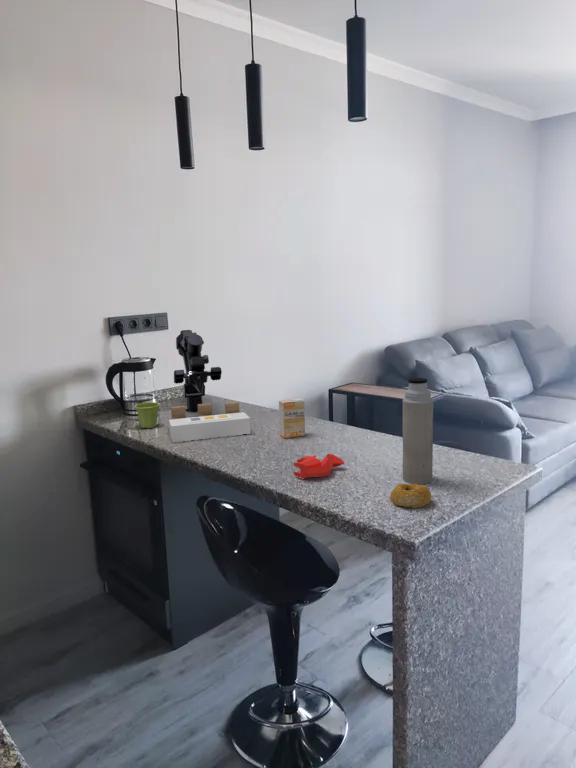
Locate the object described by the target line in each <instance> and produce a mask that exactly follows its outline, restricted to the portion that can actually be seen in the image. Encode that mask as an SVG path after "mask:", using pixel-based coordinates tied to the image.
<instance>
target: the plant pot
mask: <svg viewBox="0 0 576 768" xmlns="http://www.w3.org/2000/svg"><path fill="white" fill-rule="evenodd" d="M160 405H161V404H160V403H159V402H155V401H154V402H153V401H152V402H143V403H139V404H136V405H134V408H135V411H136V413H137V415H138V420H139V423H140V427H141V428H142V429H153V428H155V427H157V425H158V413H159V407H160Z"/></svg>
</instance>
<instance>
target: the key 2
mask: <svg viewBox="0 0 576 768" xmlns="http://www.w3.org/2000/svg"><path fill="white" fill-rule="evenodd" d="M230 413H240V403H239V401H235V402H225V403H224V414H230Z"/></svg>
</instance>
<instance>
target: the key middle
mask: <svg viewBox="0 0 576 768" xmlns="http://www.w3.org/2000/svg"><path fill="white" fill-rule="evenodd" d="M211 415H213V405H212V403H211V402H209V403H202V404H198V411H197V417H201V416H211Z"/></svg>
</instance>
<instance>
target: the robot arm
mask: <svg viewBox="0 0 576 768" xmlns="http://www.w3.org/2000/svg"><path fill="white" fill-rule="evenodd" d="M179 333H180V334H179V335H177V336H176V338H175V349H176V350H177V352H178V354H179V355H180V356H181V357H182V359H183V365H184V369H185V370H184V369H176V370H174V371H173V383H174V384H175V385H177V384H183V388H182V392H183V397H184V399H185V398H186V407H187V408H185V412H193V413H195V412H198V404H203V398H202V397H205V396H206V383H207V382H208V377H210V380H212V381H219V380H221V379H222V373H223V372H222V368H221V367H220V366H213V367H211V368H210V370H205V369H206V367H205V365H206V364H209V361H210V359H209V355H208V354H203V356H202V349H203V345H204V344H205V342H204V340H203V337H202V336H201V335H200V334H197V332H193V330H191V329H186V330H185V329H182V330H180V332H179Z"/></svg>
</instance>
